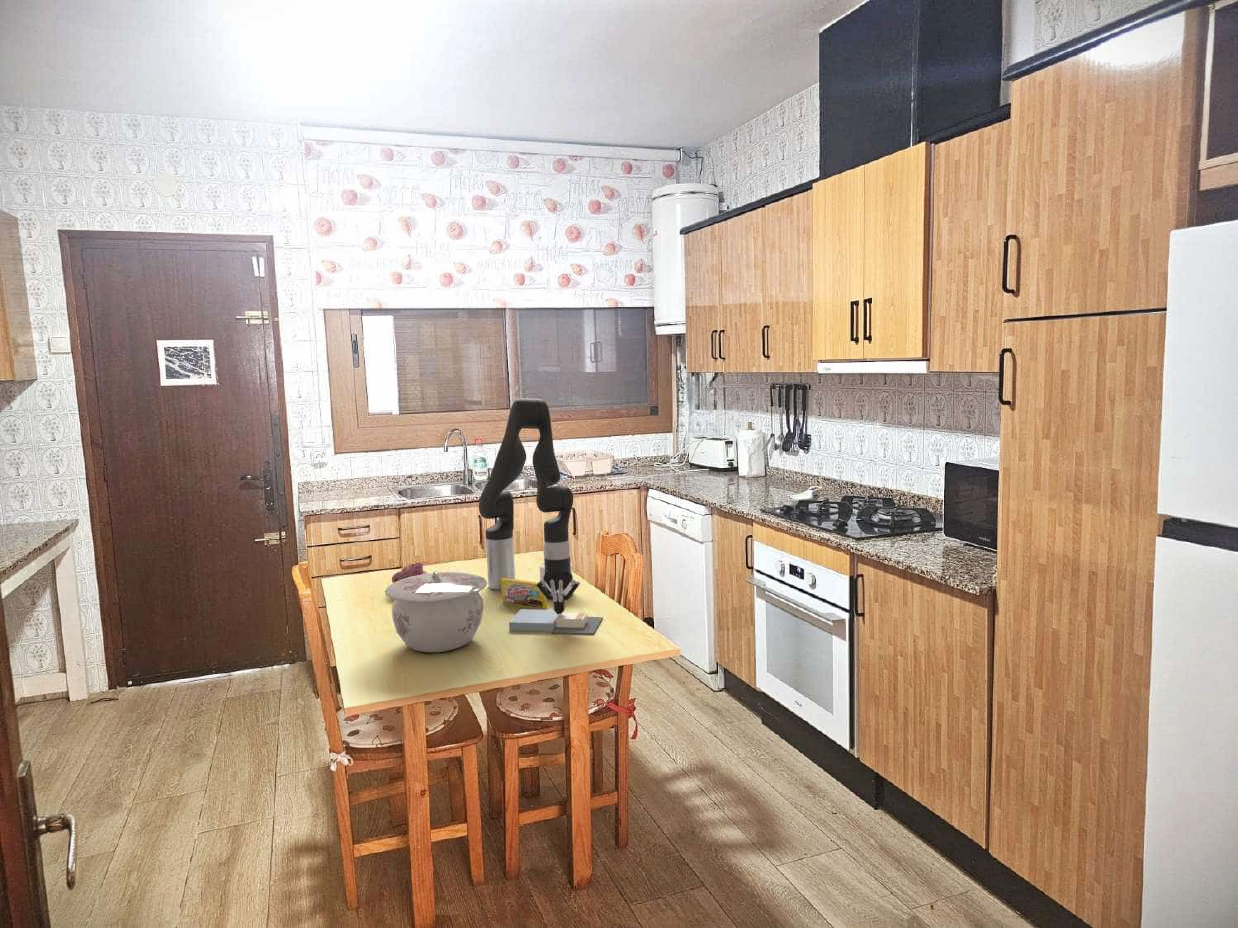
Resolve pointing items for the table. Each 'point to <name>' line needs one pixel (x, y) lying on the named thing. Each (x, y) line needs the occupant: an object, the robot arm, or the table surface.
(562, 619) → the striped white eraser
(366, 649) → the table surface
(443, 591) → the chamber pot
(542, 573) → the toilet tissue
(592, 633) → the mat
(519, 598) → the candy box
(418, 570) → the flower
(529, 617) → the light blue flat block
